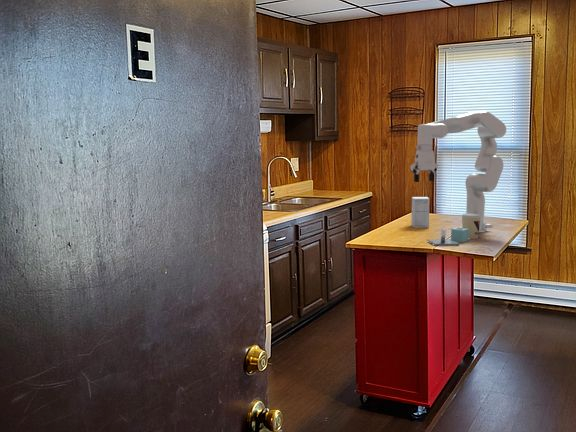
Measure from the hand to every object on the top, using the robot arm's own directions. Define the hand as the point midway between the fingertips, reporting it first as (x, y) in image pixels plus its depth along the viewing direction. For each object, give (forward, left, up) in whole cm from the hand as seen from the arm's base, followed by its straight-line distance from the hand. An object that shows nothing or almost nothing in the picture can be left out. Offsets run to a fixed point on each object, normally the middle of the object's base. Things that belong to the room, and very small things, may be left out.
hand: (424, 181), depth 314 cm
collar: (-14, +16, -29) cm, 36 cm away
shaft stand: (-3, +23, -29) cm, 37 cm away
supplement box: (-8, -32, -29) cm, 44 cm away
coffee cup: (-23, +7, -29) cm, 38 cm away
